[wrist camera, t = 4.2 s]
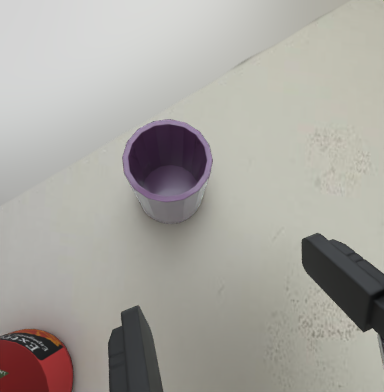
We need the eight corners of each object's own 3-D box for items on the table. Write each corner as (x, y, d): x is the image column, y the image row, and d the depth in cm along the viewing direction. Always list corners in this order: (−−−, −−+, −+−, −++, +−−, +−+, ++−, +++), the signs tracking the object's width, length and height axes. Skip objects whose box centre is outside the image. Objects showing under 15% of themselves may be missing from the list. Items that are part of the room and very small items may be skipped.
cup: (177, 236, 25) (178, 219, 17) (126, 199, 26) (104, 167, 18) (213, 186, 26) (228, 150, 19) (164, 152, 27) (158, 104, 19)
